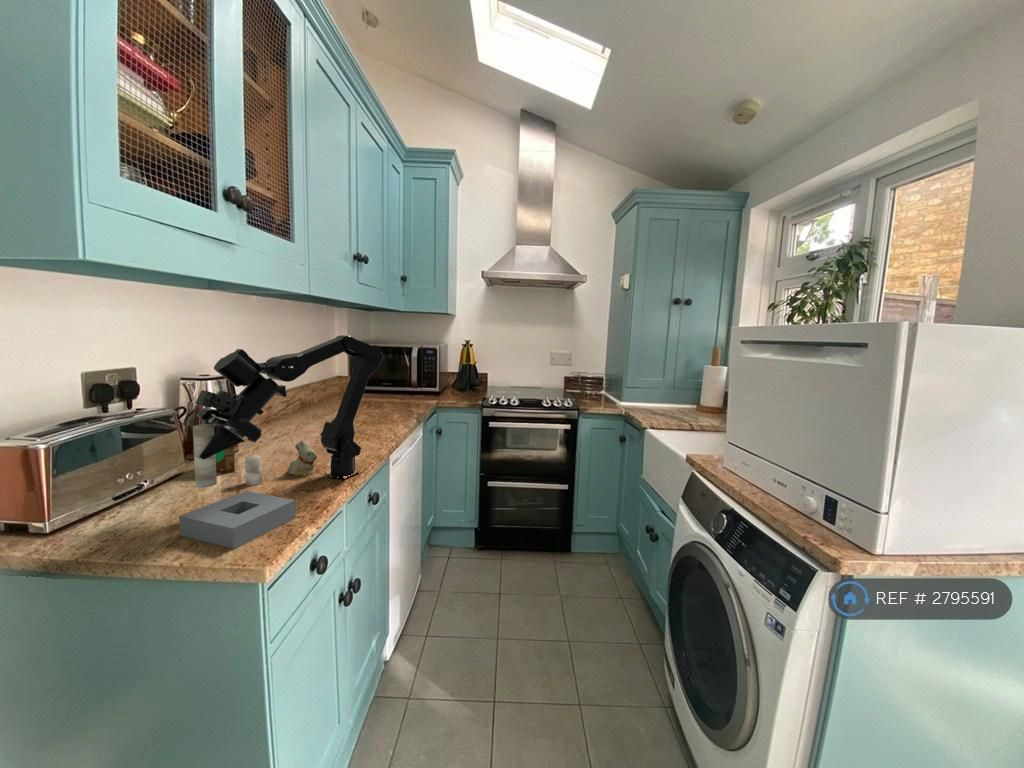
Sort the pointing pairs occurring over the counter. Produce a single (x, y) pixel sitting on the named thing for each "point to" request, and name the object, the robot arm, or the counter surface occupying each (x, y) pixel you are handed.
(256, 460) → the short pin
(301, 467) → the chocolate bunny
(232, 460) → the food container
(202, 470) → the long pin
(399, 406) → the counter surface
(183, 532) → the socket block
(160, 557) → the counter surface
